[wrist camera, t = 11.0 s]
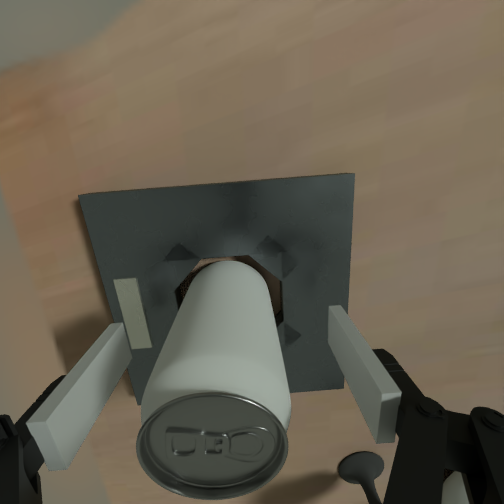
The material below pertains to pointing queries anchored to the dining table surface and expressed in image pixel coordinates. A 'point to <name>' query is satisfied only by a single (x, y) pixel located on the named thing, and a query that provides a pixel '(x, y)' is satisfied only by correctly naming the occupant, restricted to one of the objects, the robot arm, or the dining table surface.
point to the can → (217, 391)
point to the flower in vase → (454, 490)
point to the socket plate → (223, 245)
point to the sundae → (363, 472)
